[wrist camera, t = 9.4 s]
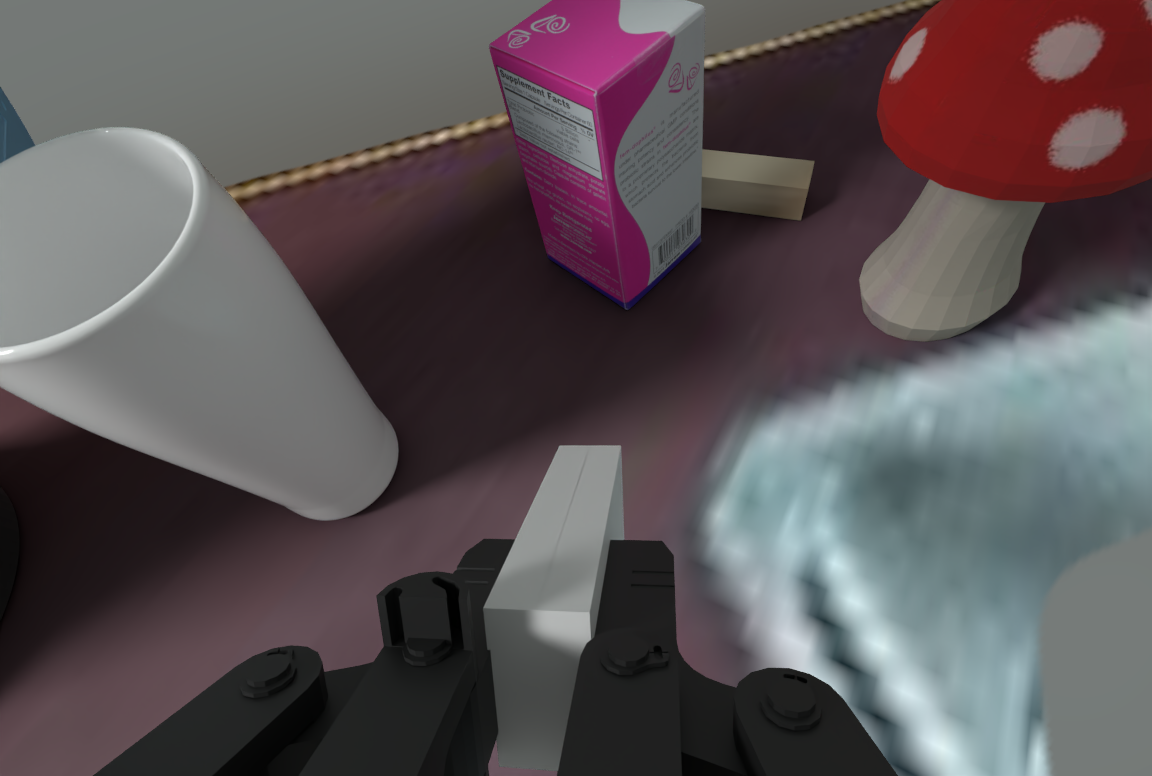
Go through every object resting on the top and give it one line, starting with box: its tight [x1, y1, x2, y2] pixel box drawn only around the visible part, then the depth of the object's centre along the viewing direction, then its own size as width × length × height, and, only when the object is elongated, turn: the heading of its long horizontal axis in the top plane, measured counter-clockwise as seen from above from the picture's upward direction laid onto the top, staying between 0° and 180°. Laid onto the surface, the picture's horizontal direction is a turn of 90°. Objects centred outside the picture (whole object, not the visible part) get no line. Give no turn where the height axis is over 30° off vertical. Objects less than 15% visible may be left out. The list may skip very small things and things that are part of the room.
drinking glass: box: [0, 127, 399, 521], centre depth 20 cm, size 7×7×15 cm
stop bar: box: [701, 149, 815, 221], centre depth 32 cm, size 15×2×2 cm, turn 71°
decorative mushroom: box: [859, 0, 1152, 342], centre depth 21 cm, size 10×9×15 cm
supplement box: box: [489, 0, 705, 310], centre depth 26 cm, size 6×6×12 cm
